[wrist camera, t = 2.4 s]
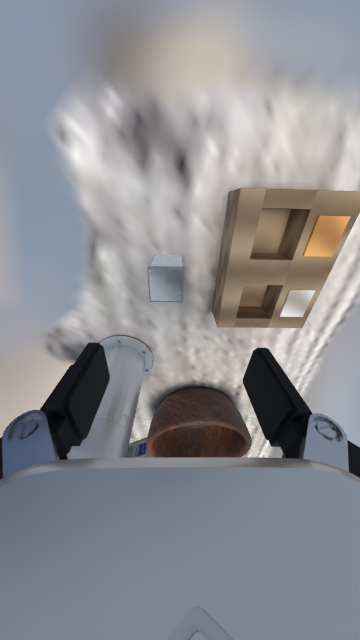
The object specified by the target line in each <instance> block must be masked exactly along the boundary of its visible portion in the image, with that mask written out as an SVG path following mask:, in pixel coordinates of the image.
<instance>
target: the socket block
mask: <svg viewBox="0 0 360 640" xmlns="http://www.w3.org/2000/svg"><path fill="white" fill-rule="evenodd" d="M359 213H360V191H328V190H293V189H258V188H240V189H237V190H234V191H231V192H229V197H228V204H227V211H226V218H225V225H224V232H223V239H222V246H221V253H220V261H219V268H218V275H217V282H216V289H215V296H214V303H213V310H212V312H213V315H214V318H215V321H216V324H217V327H259V328H303V326H304V324H305V321H306V319H307V317H308V315H309V313H310V311H311V309H312V307H313V305H314V303H315V301H316V299H317V297H318V295H319V293H320V291H321V289H322V287H323V285H324V283H325V281H326V279H327V277H328V275H329V273H330V271H331V269H332V267H333V265H334V263H335V261H336V259H337V257H338V255H339V253H340V251H341V249H342V247H343V245H344V243H345V241H346V239H347V237H348V235H349V233H350V231H351V229H352V227H353V225H354V223H355V221H356V219H357V217H358V215H359Z"/></svg>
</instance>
